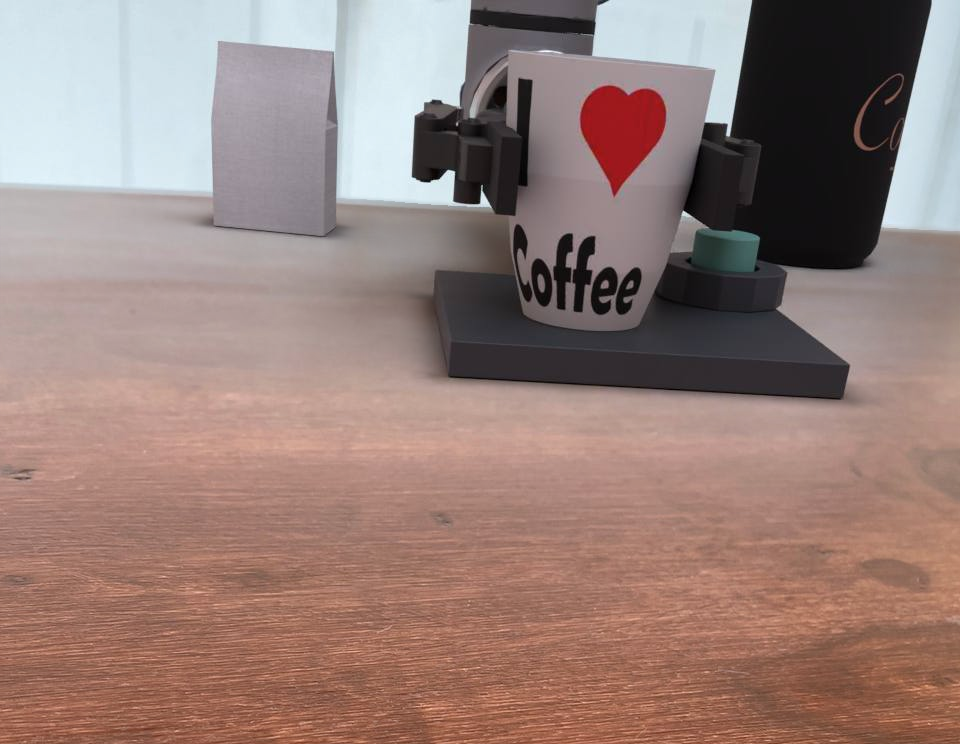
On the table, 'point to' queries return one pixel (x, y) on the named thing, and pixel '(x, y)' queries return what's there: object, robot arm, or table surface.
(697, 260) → the button
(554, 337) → the scale
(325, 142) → the grey paper bag
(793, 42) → the coffee jar
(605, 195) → the cup
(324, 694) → the table surface
